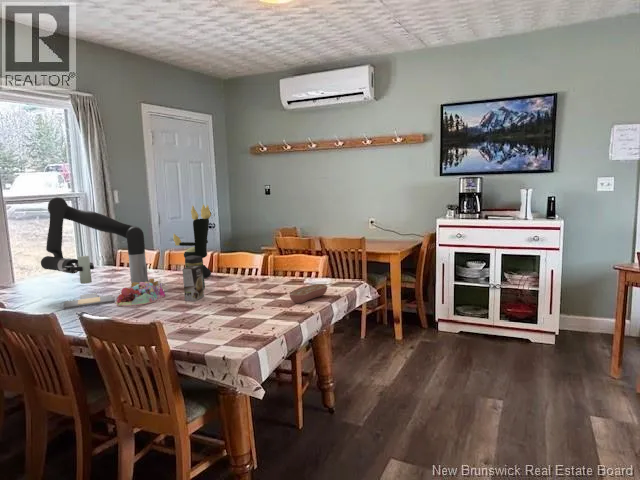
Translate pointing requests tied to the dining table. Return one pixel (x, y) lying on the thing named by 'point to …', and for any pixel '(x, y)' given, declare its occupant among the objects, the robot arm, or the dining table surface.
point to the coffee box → (193, 283)
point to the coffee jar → (195, 263)
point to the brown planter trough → (307, 293)
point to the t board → (88, 301)
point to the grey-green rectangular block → (84, 269)
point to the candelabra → (198, 236)
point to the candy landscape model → (140, 293)
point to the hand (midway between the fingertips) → (87, 268)
